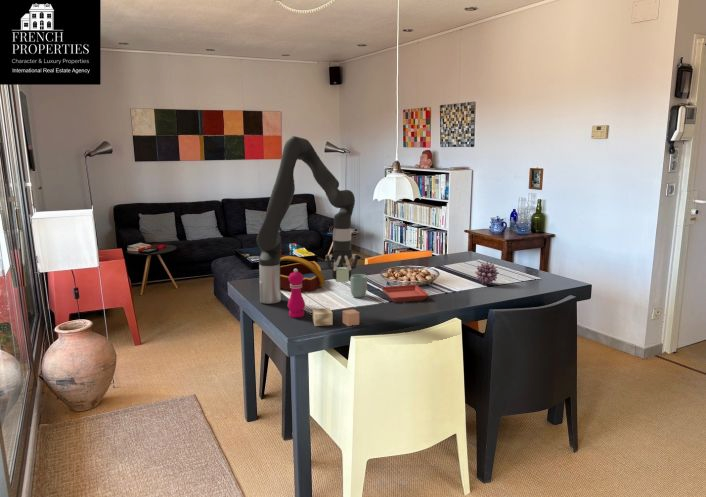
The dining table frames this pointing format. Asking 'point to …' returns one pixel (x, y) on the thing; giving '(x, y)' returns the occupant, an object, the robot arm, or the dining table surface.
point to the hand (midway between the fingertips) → (341, 278)
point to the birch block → (322, 317)
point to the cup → (358, 285)
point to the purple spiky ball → (486, 273)
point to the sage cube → (342, 274)
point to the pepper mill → (296, 295)
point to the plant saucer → (405, 293)
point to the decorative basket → (308, 271)
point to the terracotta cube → (350, 317)
